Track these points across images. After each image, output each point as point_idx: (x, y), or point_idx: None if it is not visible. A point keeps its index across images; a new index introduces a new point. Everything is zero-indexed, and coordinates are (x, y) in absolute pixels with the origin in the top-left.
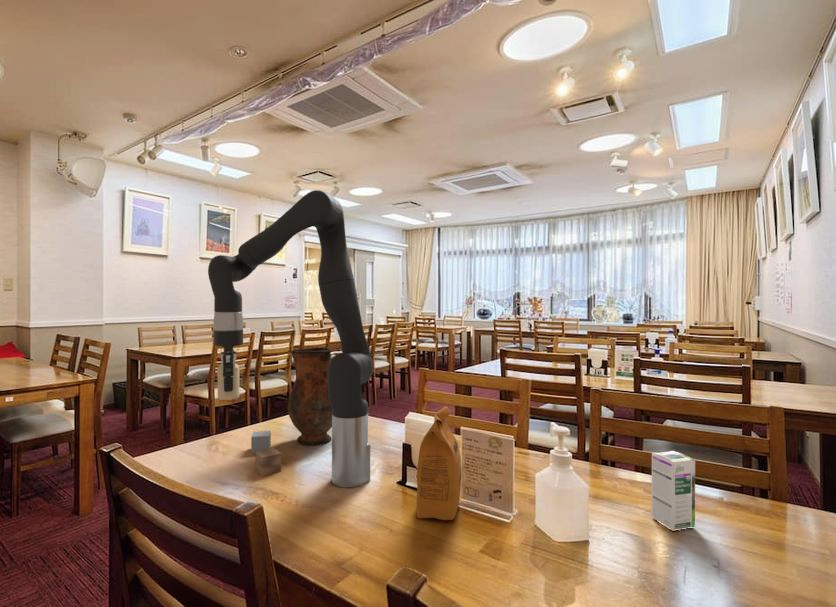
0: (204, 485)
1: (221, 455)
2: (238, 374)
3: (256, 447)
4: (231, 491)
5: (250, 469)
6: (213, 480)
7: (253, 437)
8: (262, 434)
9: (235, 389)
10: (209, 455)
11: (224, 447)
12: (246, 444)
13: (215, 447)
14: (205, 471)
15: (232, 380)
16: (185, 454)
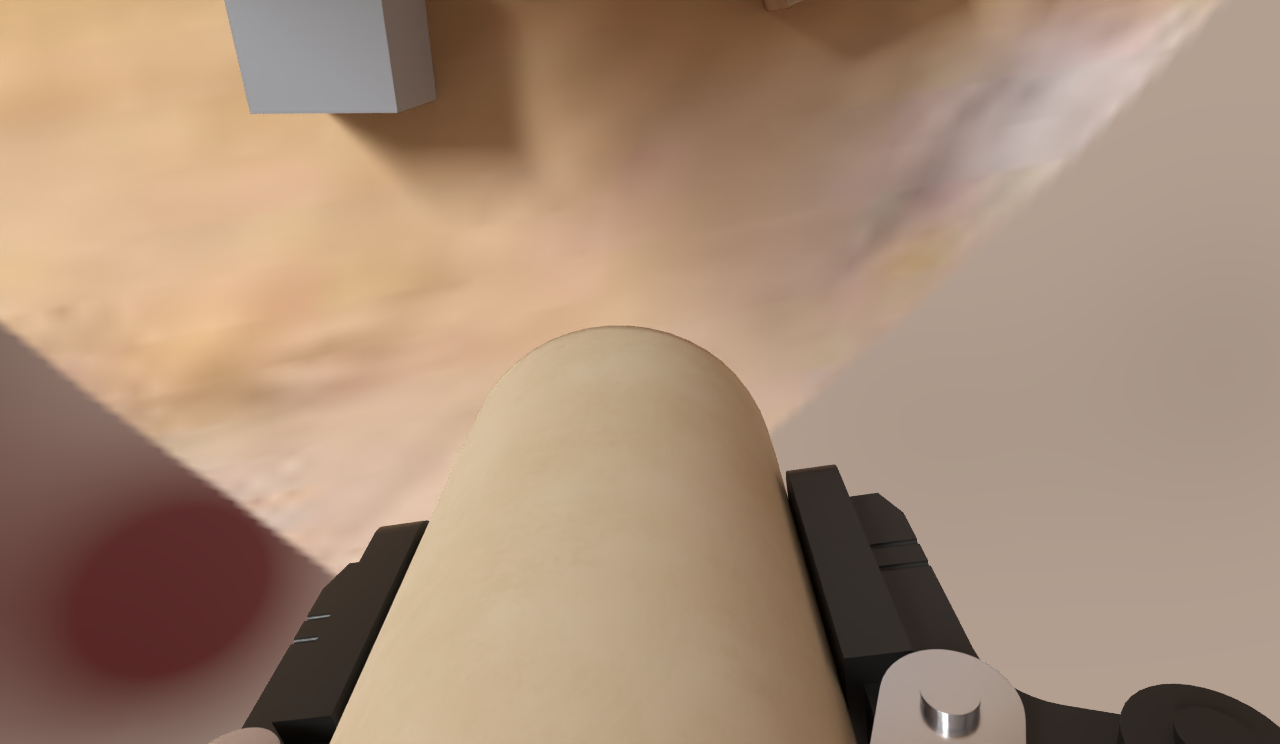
0: (911, 290)
1: (461, 296)
2: (656, 599)
3: (419, 61)
4: (1061, 119)
5: (749, 54)
6: (857, 258)
7: (396, 92)
8: (330, 15)
9: (737, 432)
10: (453, 365)
11: (313, 308)
12: (250, 168)
13: (313, 362)
14: (708, 330)
15: (887, 602)
16: (425, 490)
